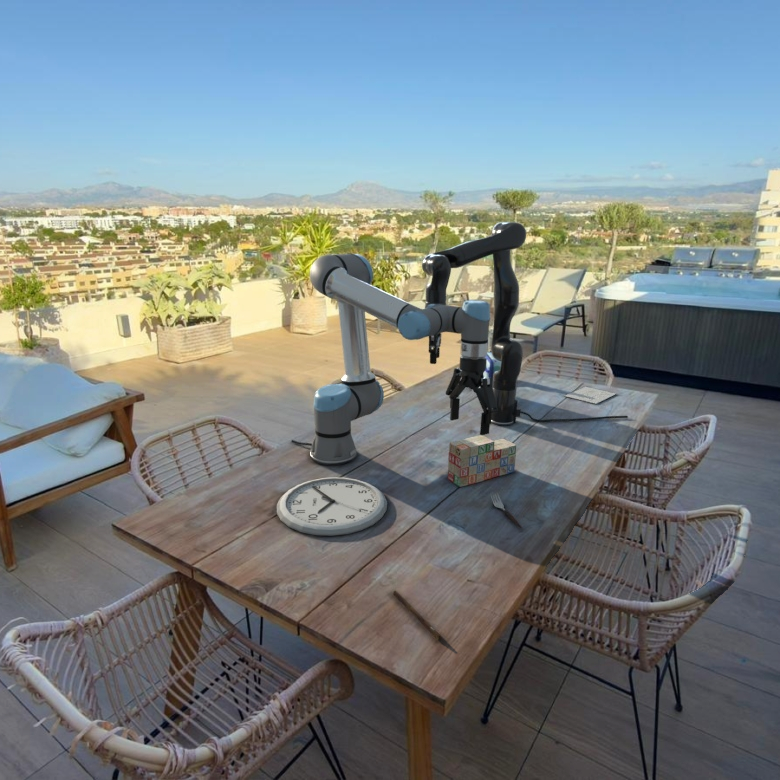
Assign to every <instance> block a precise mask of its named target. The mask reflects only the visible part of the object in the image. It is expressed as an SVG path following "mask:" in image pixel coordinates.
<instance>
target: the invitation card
mask: <svg viewBox="0 0 780 780" xmlns="http://www.w3.org/2000/svg"><path fill="white" fill-rule="evenodd" d="M615 395H616V392H611V391H606V390H602V389H597V388H593V387H588V386H583V387H581V388H579V389H576V390H573V391H572V392H570V393H568V394H564V397H566V398H570V399H574V400H579V401H583V402H587V403H590V404H593V405H597V404H599V403H601V402H603V401H605V400H607V399H609V398H612V397H613V396H615Z"/></svg>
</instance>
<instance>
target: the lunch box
mask: <svg viewBox="0 0 780 780" xmlns="http://www.w3.org/2000/svg"><path fill="white" fill-rule="evenodd" d="M486 359H487V363H486V370H485V371H484V373H483V375H484V378H490V377H491V378H492V385H493V374H494V372H495V371H497V370H500V368H501V361H498V360H496V359H495V358H494V357H493V355H492V352H490V351H487V356H486ZM479 388H480V387H479Z"/></svg>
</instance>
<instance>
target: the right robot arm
mask: <svg viewBox="0 0 780 780" xmlns="http://www.w3.org/2000/svg"><path fill="white" fill-rule="evenodd" d="M526 239H527V230H526V228H525V226H524V225H523V224H521V223H520V222H515V221H514V222H513V221H504V222H502V221H501V222H497V223H496V224H495V225H494V226H493V228H492V231H491V235H489V236H486V237H481V238H478V239H474V240H469V241H466V242H463V243H461V244H458V245H456V246H453V247H451V248H448V249H444V250H440V251H436V252H433V253H430V254H428V255H426V256H425V258H424V259H423V260H422V262H421V270H422V271H423V272H424V274H426V275H427V276H429V277H430V276H431V281H430V283H429V284H427V285H426V286H425V302H424V303H425V304H424V309H425V308H427V306H428V305H430V304H442V305H447V288H448V285H449V282H450V277H451V272H452V269H459V268H462V267H465V266H467V265H470V264H472V263H474V262H476V261H478V260H481V259H485V258H486V257H489V256H492V262H493V264H492V265H493V322H492V323H493V327H492V335H491V345H490V346H491V347H490V350H491V352H492V355H493V357H494V358H495V359H496V360H498V361H501V368H500V370H497V371H495V372H494V374H493V385H492V388H493V392H494V396H495V400H496V404H497V408H498V412H496V413H492V417H491V424H494V425H497V426H511V425H513V424H516V423H517V418H520V417H521V415H525V416H527V417H528V418H529V419H530V420H531V421H533V422H538V423H539V422H540V423H545V422H576V421H577V422H578V421H579V422H580V421H590V420H591V421H592V420H602V419H603V420H605V419H628V417H629V416H628V415H606V416H595V417H581V418H580V417H579V418H550V419H549V418H547V419H537V418H534V417H532V415H531V414H529V413H528V412H525V411H523V410H521V408H520V407H518V399H517V388H518V378H519V376H520V374H521V370H522V365H523V357H524V349H523V346H522V343H521V342H519V341H517V340H514V339H513V338H512V339H511V323H512V321H513V318H514V316H515V314H516V313H517V310H518V307H519V305H520V283H519V281H518V278H517V275H516V272H515V271H514V268H513V266H512V261H511V251H512V250H516V249H520V248H521V247H522V246H523V245H524V243H525V242H526ZM441 344H442V333H439V334H435V335H431V336H428V353H429V364H430V365H436V364H437V359H439V358H440V353H441V352H440V350H441V349H440V348H441Z"/></svg>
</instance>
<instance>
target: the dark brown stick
mask: <svg viewBox="0 0 780 780" xmlns="http://www.w3.org/2000/svg"><path fill="white" fill-rule="evenodd" d="M392 595H393V596H394V597H395V598H396V599H397V600H398V601H399V602H400V603H401V604H402V605H403V606H404V607H405V608H406V609H407V610H408V612H410V613H411V614H412V615H413V616H414V618H416V619H417V620H418V621H419V622H420V623H421V624H422V625H423V626H424V628H426V629H427V630H428V631H429V633H430V634H431V635H432V636H433V637H434V638H435V639H436V640H437V641H439V640H441V635H440V634H439V633H438V631H436V629H435V628H434V627H433V626H432V625H431V624H430V623H429V622H428V621H427V620H426V619H425V618H424V617H423V616H422V615H421V614H420V613H419V612H418V611H417V610H416V609H415V608H414V607H413V606H412V605H411V604H410V603H409V602H408V601H407V600H406V599H405V598H404V597H403V596H402V595H401V593H399V592H398V591H397V590H394V591H393V593H392Z"/></svg>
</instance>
